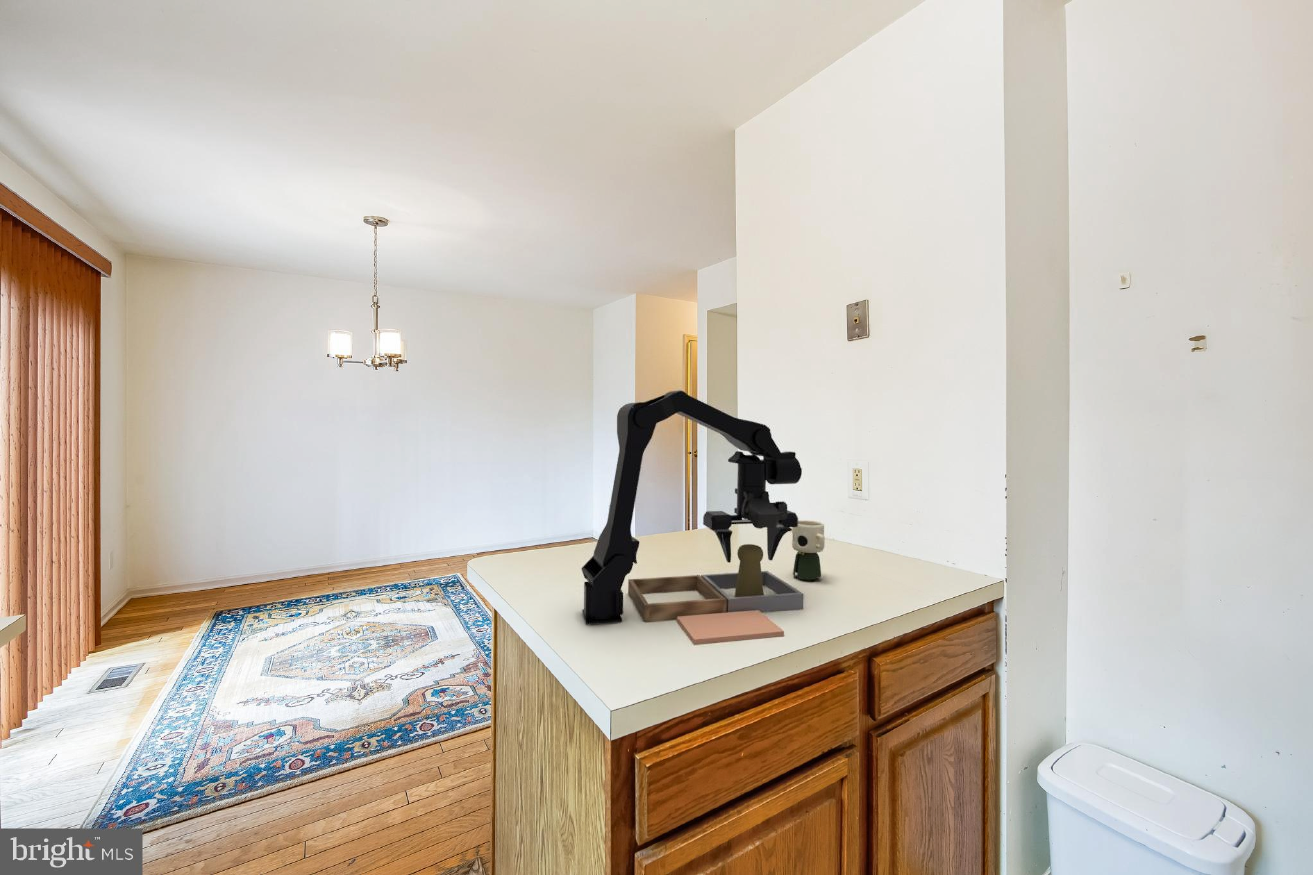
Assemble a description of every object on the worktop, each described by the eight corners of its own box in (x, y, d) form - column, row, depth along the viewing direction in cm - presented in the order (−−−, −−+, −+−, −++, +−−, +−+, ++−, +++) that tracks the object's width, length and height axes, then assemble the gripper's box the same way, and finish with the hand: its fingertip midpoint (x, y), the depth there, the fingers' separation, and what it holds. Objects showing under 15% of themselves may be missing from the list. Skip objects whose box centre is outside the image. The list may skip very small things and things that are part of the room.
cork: (764, 604, 102) (765, 549, 102) (733, 602, 103) (734, 547, 103) (764, 594, 108) (765, 542, 108) (735, 592, 109) (736, 540, 109)
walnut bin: (644, 622, 92) (644, 605, 92) (628, 593, 108) (628, 579, 108) (726, 615, 96) (726, 599, 96) (699, 588, 111) (699, 574, 111)
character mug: (780, 573, 124) (781, 519, 123) (804, 570, 127) (805, 517, 126) (809, 587, 114) (810, 528, 113) (835, 583, 116) (836, 526, 116)
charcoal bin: (728, 615, 96) (728, 599, 96) (700, 588, 112) (701, 574, 111) (803, 608, 100) (803, 593, 100) (767, 584, 115) (767, 570, 115)
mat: (694, 644, 84) (694, 639, 84) (676, 620, 93) (676, 616, 93) (784, 635, 87) (784, 631, 87) (758, 614, 97) (758, 609, 97)
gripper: (723, 491, 95) (721, 575, 95) (813, 489, 100) (811, 569, 100) (703, 483, 106) (701, 559, 106) (785, 482, 110) (783, 555, 111)
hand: (749, 561), depth 106 cm, fingers open, 9 cm apart
